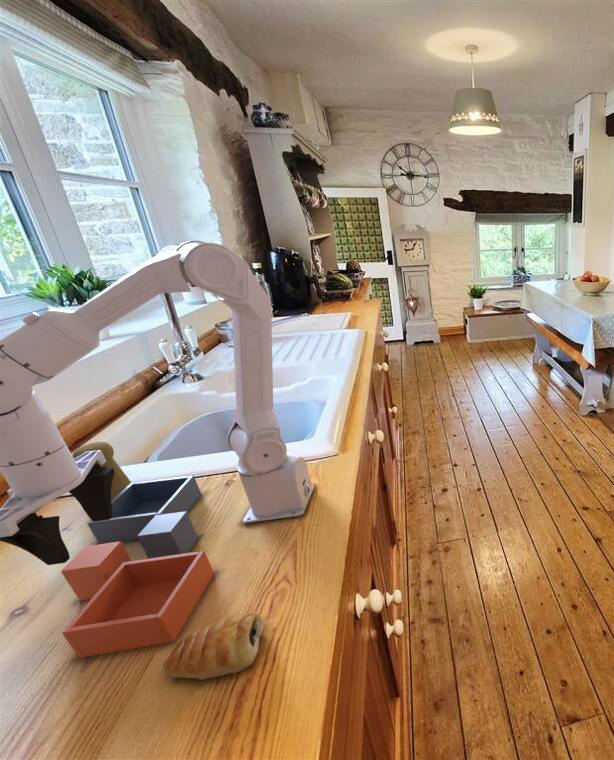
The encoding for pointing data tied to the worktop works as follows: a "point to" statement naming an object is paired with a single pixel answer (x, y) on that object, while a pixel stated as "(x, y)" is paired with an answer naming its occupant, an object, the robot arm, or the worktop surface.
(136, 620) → the terracotta bin
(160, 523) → the slate block
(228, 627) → the pastry
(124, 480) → the cork
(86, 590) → the terracotta block
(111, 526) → the slate bin
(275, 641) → the worktop surface
